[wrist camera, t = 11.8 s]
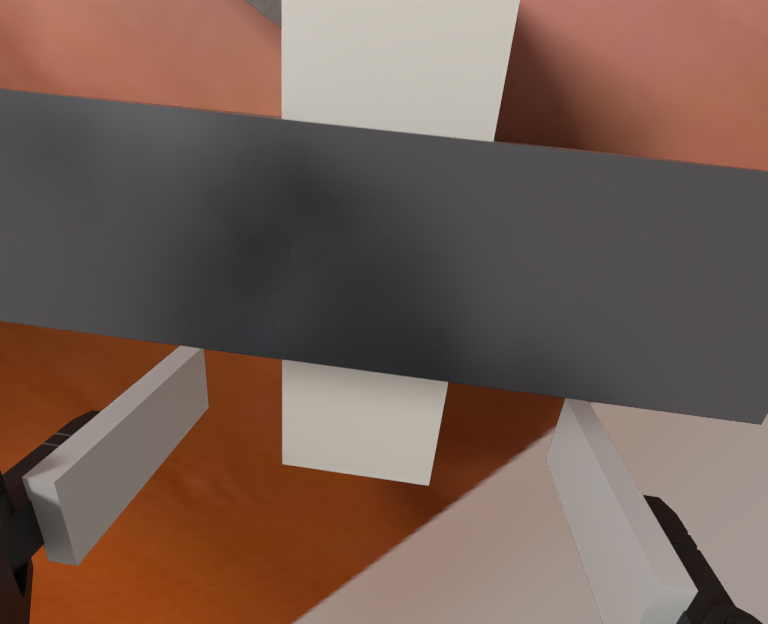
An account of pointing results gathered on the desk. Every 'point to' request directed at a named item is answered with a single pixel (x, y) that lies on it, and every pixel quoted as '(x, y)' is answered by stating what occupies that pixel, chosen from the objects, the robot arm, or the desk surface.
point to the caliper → (269, 9)
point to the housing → (389, 251)
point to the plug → (397, 113)
